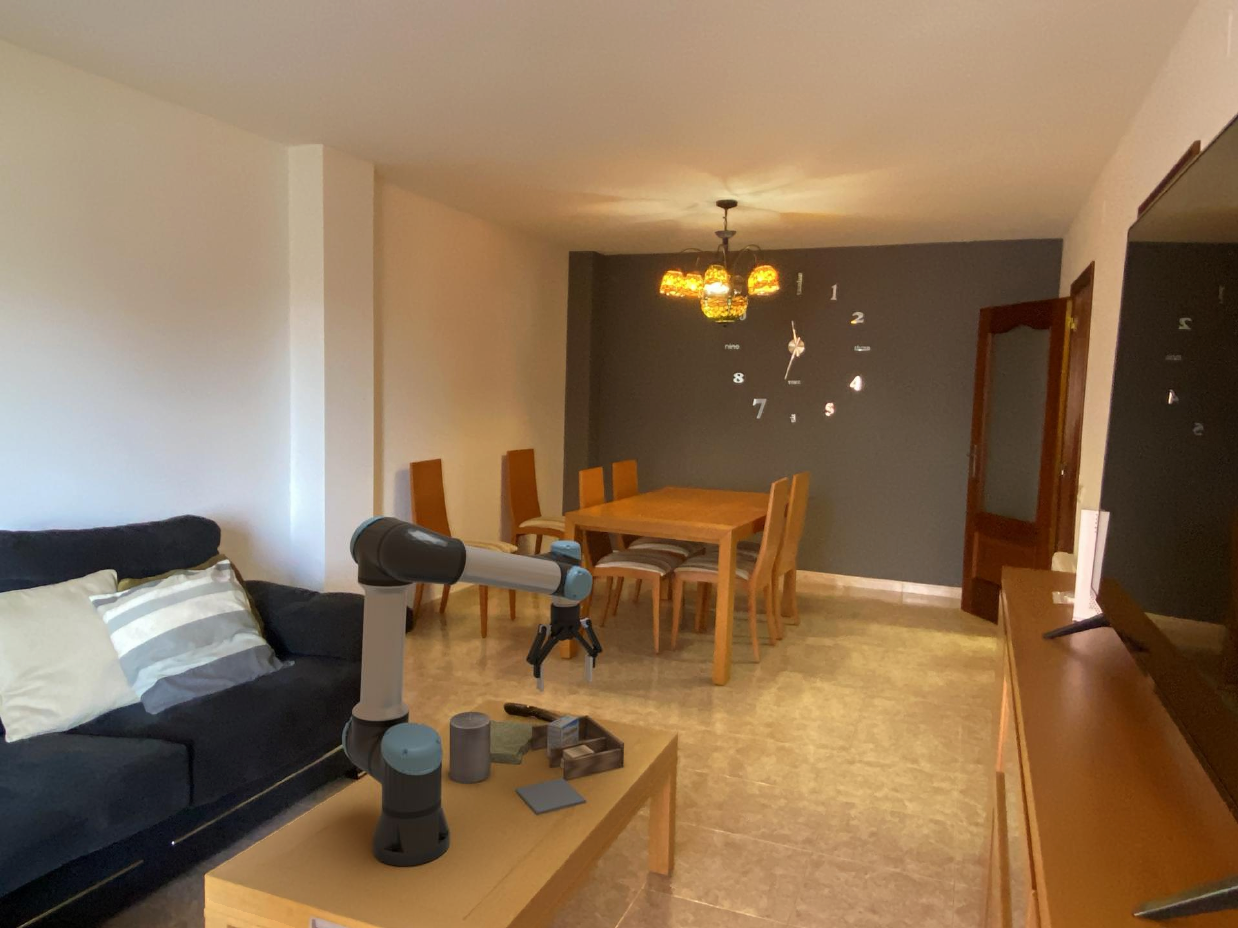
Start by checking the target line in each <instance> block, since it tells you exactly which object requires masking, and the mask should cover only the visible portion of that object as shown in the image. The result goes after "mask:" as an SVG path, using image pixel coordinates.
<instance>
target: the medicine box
mask: <svg viewBox="0 0 1238 928" xmlns="http://www.w3.org/2000/svg"><path fill="white" fill-rule="evenodd" d="M577 717H578V716H573V715H570V714H564V715H563V716H561V717H559V718H557V719H555V720H553V721H552V723H550V722H549V723H550V724H548V739H547V747H546V748H547V750H546V752H547V754H546V755H547V757H548V758H550V748H554V747H559V746H564V745H568V744H573V743H578V742H579V741H578V730H579V718H577Z"/></svg>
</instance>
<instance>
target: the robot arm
mask: <svg viewBox="0 0 1238 928" xmlns="http://www.w3.org/2000/svg"><path fill="white" fill-rule="evenodd" d="M581 550H582V549H581V545H580V544H579V542H577V541H575V540H556V541H553V542H551V545H550V549H549V551H548V552H544V553H543V552H542V553H538V554H530V555H527V556H526V555H519V554H515V553H509V552H503V551H499V550H493V549H489V548H482V547H477V546H472V545H466V544H465V542H464V541H463V540H462V539H460V538H457V537H456V538H455V537H452V536H447V535H444V534H442V533H439V532H436V531H434V530H431V529H428V528H426V527H425V526H422V525H420V524H416V523H411V522H407V521H403V520H401V519H399V518H396V517H393V516H392V517H391V516H380V515H379V516H373V517H369V518H368V519H366V520H364V521H363V522H361V523H360V524H359V526H358V527H356V529H355V530H354V532H353V533H352V536H351V538H350V543H349V552H350V556H351V558H352V560H353V561H354V563H355V564H357V584H358V585H359V586H360V587H361V588H362V589H363V590H364V602H363V605H364V606H363V623H362V624H363V625H362V626H363V628H362V630H363V631H362V648H361V651H362V652H361V653H362V654H361V675H360V676H361V677H360V679H361V680H360V698H359V699H360V701H359V702H358V703H357V704H355V706H354V707H353V708H352V711H351V713H352V714H351V717H349V721H348V722H346V723H345V726H344V727H343V730H342V736H341V742H342V749H343V751H344V753H345V755H346V757H347V758H348V759H349V761H351V763H352V764H353V765H354V766H355V767H357V768H358V769H360V770H362V771H364V772H365V773H366V775H369V776H370V777H371V778H373V779H374V780H375V781H376V782H378V783H379V784H380V785H381V812H380V816H379V818H378V821H377V824H376V827H375V830H374V834H373V836H372V854H373V855H374V857H375V858H376V859H377V860H378V861H380V862H382V863H385V864H387V865H390V866H396V867H397V866H398V867H409V866H410V867H411V866H417V865H422V864H426V863H429V862H432V861H433V860H435V859H437V858H438V859H439V857H441V856H443V854H445V853H446V851H447V850H448V848H450V844H451V832H450V827H449V824H448V821H447V818H446V816H445V811H444V809H443V805H442V786H443V784H442V781H443V780H442V778H443V777H442V775H443V773H442V772H443V769H442V767H443V756H444V753H443V744H442V738H441V736H440V734H439V732H438V731H437V730H436V729H435V728H433V727H432V726H429V725H428V724H425V723H420V724H419V723H418V722H409V719H410V718H409V717H410V715H409V714H410V707H409V705H408V704H407V703H406V702H405V701H404V700H403V693H404V692H403V688H404V687H403V686H404V671H405V670H404V669H405V667H404V666H405V647H406V646H405V645H406V621H407V604H408V603H407V601H408V599H407V598H408V590H409V589H410V588H411V587H413V586H414V585H415V583H419V584H433V585H444V586H454V585H456V584H458V583H459V582H460V583H465V584H466V583H467V584H473V585H480V586H481V585H483V586H486V587H487V586H488V587H492V588H493V587H494V588H495V587H496V588H501V589H508V590H514V591H515V590H516V591H522V592H529V593H537V594H541V595H542V594H543V595H548V596H550V597H549V598H550V602H551V603H550V606H549V607H550V608H549V609H550V610H549V611H550V614H549V615H550V616H549V617H550V622H549V624H543V623H539V625H538V627H537V633H536V635H535V638H534V640H533V643H532V644H531V647H530V650H529V652H528V654H527V656H526V659H525V662H527V663H528V664H530V665H531V666H533V669H532V670H533V677H534V678H535V679H536V689H537V690H538V691H539V692H540V693H542V692H545V690H544V689H545V683H544V682H545V665H544V664H543V662H544V661H545V659H546V658H547V657H548V655H549V654H550V653H551V651H552V650H553V648H554V647H555V645H557V644H558V643H559V641H561V642H564V641H566V640H573V639H575V640H576V641H577V642H578V643H579V644H580V645H581V646H582V648H583V649H584V650H585V651H586V652H587V653H588V654H587V653H586V654H585V655H584V657H585V658H584V680H585V681H587V682H589V683H593V671H594V670H593V669H595V667H596V658H597V657H598V655H599V654H601V653H603V651H604V650H603V647H602V646H601V644H600V642H599V639H598V636H597V635H596V633H595V630H594V629H593V622H592V619H590V618H588V617H586V616H585V617H583V619H581V603H580V602H581V601H582V600H584V599H586V598H587V597H588V596H589V594H590V593H591V591H592V587H593V582H594V581H593V576H592V575H591V572H590V571H589V570H587V569H586V568H583V567H582V560H583V559H582V551H581ZM581 627H583V628H584V631H585V633H586V635H587V637H588V638H589V641H590V643H591V645H592V646H591V645H590V644H589V643H588V642H587V641H586V639H585V638H584V637H583V635H582V634H581V633H580V632H579V630H580V629H581ZM549 631H550V633H549ZM548 634H549V635H548ZM547 635H548V636H547ZM546 638H547V640H546ZM545 640H546V641H545Z"/></svg>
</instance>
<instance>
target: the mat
mask: <svg viewBox="0 0 1238 928" xmlns="http://www.w3.org/2000/svg"><path fill="white" fill-rule="evenodd" d="M515 792H516V793H517V794H518V796H520V798H521V799H522V800H523V801H524V802H525V803H526V805H527V806H528V807H529V808H530V809H531V810H532V811H533V812H534V813H535V814H536V815H537V816H539V815H542V814H547V813H550V812H553V811H554V812H555V811H558V810H562V809H565V808H569V807H573V806H577V805H578V806H579V805H581V804H586V803H587V800H586V798H585V797H584V796H582V795H581V794H580V793H579V792H578V791H577V790H576V788H574V787H573V786H572V784H571V785H570V783H569V782H568V780H564V779H563V777H560V778H555V779H551V780H547V781H546V780H545V781H543V782H537V783H534V784H530V785H525V786H521V787H517V788H515Z"/></svg>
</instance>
